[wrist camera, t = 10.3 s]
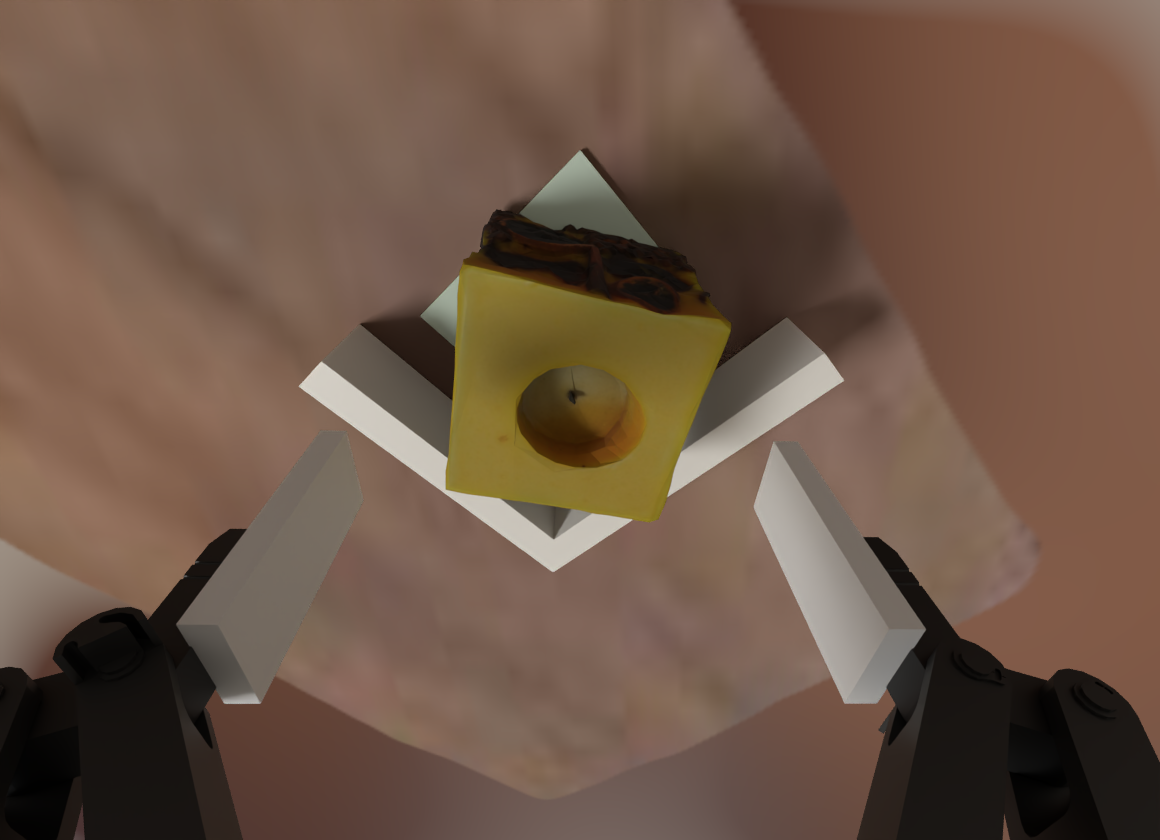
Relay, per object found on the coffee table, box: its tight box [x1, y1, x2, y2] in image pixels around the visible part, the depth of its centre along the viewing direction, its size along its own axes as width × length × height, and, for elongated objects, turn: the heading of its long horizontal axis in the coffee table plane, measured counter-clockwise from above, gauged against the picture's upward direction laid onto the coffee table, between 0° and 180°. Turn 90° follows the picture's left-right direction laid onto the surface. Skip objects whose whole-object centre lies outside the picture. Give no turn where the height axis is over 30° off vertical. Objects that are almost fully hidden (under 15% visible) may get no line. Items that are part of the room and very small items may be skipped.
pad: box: [420, 150, 658, 347], centre depth 28 cm, size 12×12×1 cm
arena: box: [299, 317, 844, 572], centre depth 27 cm, size 18×20×5 cm
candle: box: [446, 209, 731, 522], centre depth 24 cm, size 10×10×10 cm
